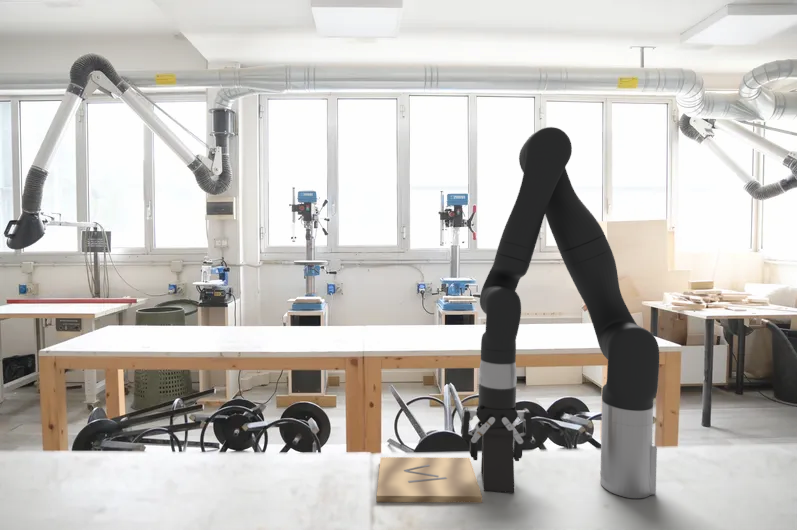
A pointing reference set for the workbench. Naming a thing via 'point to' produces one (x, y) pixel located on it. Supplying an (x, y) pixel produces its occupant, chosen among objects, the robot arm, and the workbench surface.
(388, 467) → the oak board
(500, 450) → the phone stand
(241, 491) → the workbench surface
